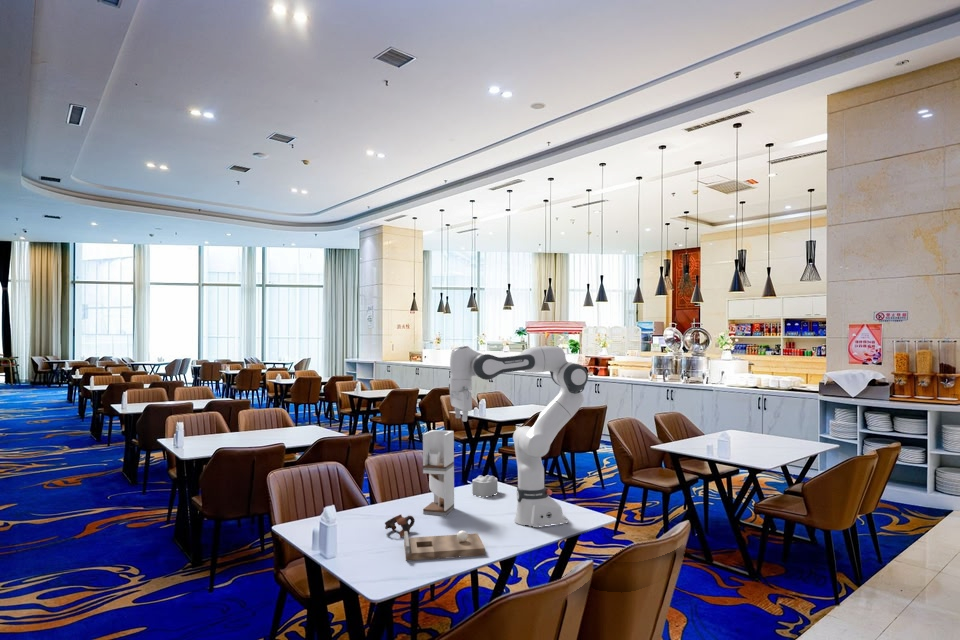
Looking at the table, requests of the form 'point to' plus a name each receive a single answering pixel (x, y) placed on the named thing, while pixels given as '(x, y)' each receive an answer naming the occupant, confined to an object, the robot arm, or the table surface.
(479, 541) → the board
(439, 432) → the white shelf tower
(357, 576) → the table surface
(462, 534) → the ball
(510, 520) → the table surface
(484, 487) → the lumpy-topped squat cylinder
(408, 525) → the brown looped piece
